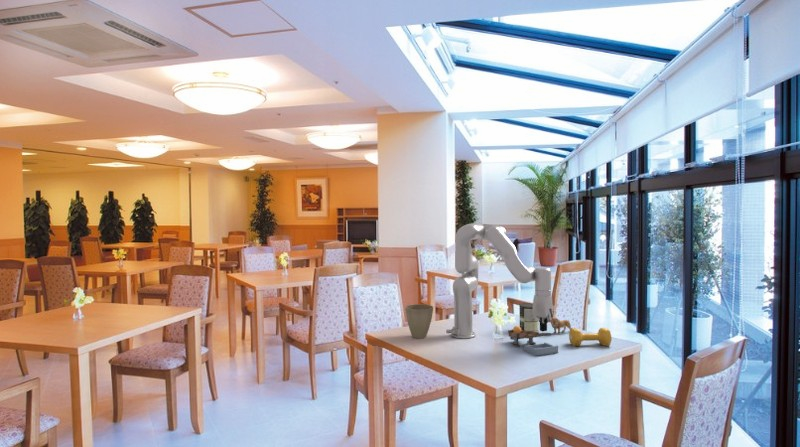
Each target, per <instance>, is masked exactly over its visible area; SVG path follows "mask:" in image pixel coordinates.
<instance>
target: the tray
mask: <svg viewBox="0 0 800 447" xmlns="http://www.w3.org/2000/svg"><path fill="white" fill-rule="evenodd" d="M523 348H524V352H527V353H529V354H531V355H534V356H537V357H540V356H546V355H547V356H548V355H554V354H559V346H558V345H553V344H550V343H548V342H543V343H539V344H537V343H536V344H534V345H532V344H529V345H527V344H526V345H524V347H523Z"/></svg>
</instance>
